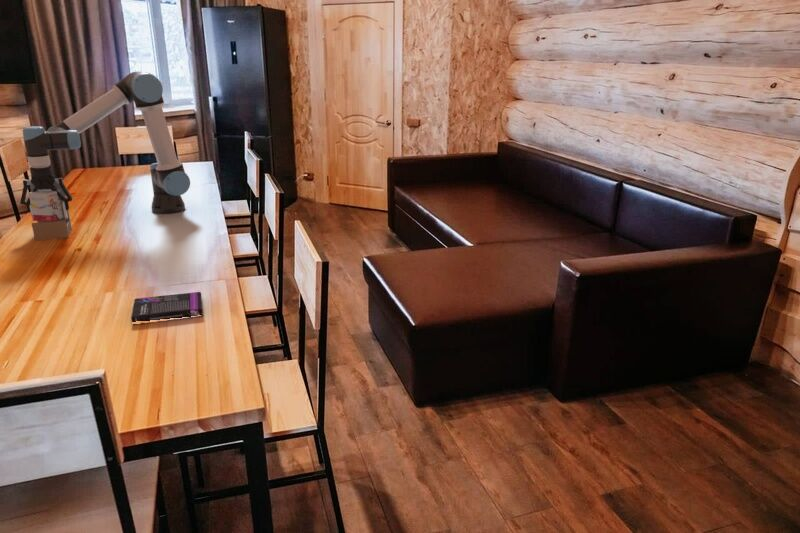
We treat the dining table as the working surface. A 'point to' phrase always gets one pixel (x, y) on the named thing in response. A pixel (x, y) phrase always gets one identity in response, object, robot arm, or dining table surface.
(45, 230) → the grey magazine holder
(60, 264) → the dining table surface
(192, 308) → the box
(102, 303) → the dining table surface
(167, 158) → the robot arm
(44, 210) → the ink box
